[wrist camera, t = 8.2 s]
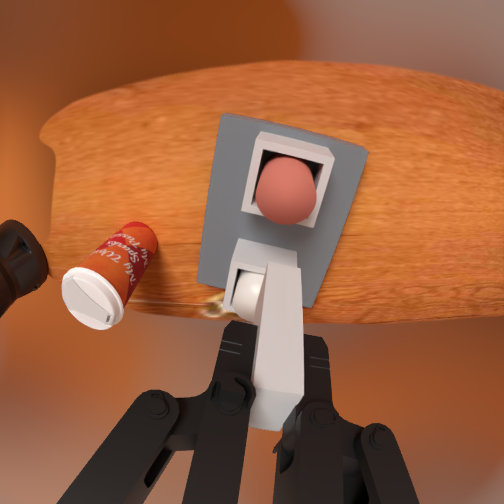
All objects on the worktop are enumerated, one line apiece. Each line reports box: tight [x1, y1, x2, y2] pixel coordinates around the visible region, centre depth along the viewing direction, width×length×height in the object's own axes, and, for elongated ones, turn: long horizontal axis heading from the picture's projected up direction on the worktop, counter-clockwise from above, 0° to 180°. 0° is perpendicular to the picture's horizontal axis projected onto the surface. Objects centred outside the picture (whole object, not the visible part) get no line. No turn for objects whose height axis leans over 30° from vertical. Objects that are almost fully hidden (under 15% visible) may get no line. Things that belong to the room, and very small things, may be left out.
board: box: [197, 113, 369, 313], centre depth 34 cm, size 16×22×8 cm
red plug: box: [256, 152, 317, 225], centre depth 27 cm, size 5×5×7 cm
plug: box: [233, 269, 265, 322], centre depth 35 cm, size 5×5×7 cm
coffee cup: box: [62, 222, 157, 330], centre depth 35 cm, size 8×8×15 cm
